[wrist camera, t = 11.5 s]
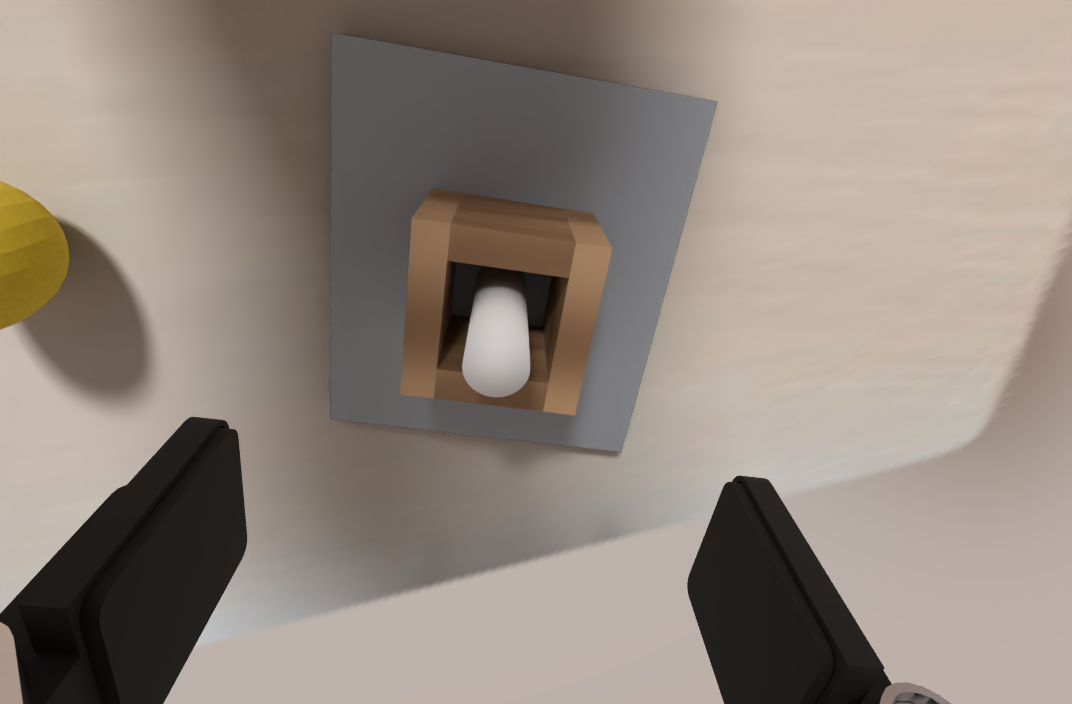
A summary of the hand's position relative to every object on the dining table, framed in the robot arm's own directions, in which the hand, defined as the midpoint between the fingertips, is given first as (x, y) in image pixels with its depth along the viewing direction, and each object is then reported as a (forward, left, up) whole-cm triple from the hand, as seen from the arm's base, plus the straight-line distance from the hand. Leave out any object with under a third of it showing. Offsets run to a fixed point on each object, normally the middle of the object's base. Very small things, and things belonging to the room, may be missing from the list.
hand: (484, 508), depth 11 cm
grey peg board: (0, 0, -15) cm, 15 cm away
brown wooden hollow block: (0, 0, -14) cm, 14 cm away
